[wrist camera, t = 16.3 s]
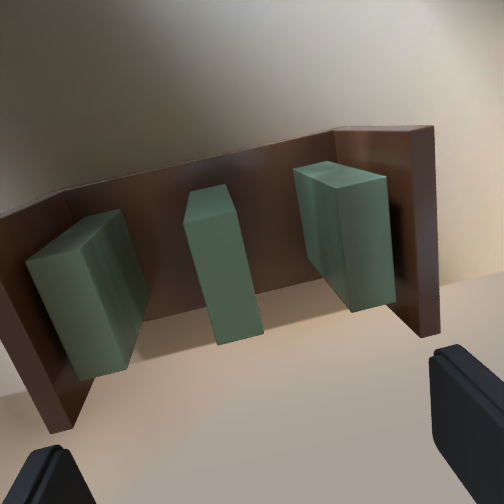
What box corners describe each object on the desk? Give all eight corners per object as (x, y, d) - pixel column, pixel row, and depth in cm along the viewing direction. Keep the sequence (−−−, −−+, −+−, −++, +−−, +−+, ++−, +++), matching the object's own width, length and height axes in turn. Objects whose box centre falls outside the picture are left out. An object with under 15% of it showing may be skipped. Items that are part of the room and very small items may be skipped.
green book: (225, 183, 26) (236, 210, 17) (246, 272, 28) (264, 334, 20) (189, 191, 26) (182, 222, 17) (213, 280, 28) (217, 346, 19)
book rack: (343, 126, 27) (434, 124, 16) (359, 262, 30) (441, 333, 20) (52, 192, 26) (-55, 236, 15) (105, 324, 29) (50, 434, 19)
